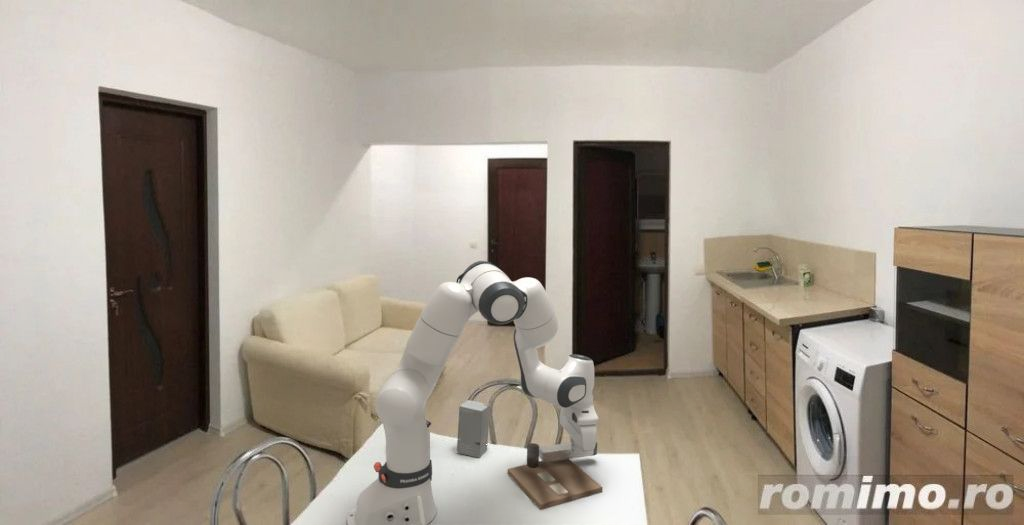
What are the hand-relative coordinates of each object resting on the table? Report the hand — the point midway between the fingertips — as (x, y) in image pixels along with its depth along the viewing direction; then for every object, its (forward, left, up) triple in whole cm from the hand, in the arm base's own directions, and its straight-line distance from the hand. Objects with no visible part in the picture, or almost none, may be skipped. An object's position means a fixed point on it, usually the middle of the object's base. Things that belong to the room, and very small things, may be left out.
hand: (575, 451), depth 163 cm
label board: (-9, -3, -6) cm, 12 cm away
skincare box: (-23, +24, -6) cm, 34 cm away
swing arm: (0, +3, -3) cm, 4 cm away
